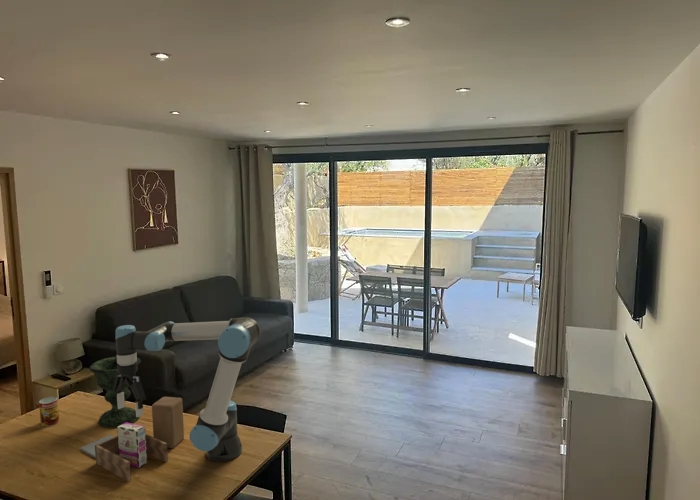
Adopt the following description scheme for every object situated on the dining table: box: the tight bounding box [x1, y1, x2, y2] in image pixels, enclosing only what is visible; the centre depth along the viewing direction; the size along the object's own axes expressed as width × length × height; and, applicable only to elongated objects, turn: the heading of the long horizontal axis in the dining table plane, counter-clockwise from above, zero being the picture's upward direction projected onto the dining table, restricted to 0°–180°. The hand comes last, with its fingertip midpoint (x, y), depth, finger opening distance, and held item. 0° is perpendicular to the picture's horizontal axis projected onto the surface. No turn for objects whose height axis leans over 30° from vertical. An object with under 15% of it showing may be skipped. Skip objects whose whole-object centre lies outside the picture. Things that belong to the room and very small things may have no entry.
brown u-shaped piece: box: [95, 433, 169, 482], centre depth 206 cm, size 24×18×8 cm
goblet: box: [89, 355, 142, 428], centre depth 244 cm, size 22×22×30 cm
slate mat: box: [79, 434, 115, 459], centre depth 218 cm, size 14×14×1 cm
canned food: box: [38, 396, 60, 428], centre depth 242 cm, size 8×8×12 cm
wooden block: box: [151, 396, 185, 449], centre depth 221 cm, size 10×10×20 cm
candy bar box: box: [116, 422, 148, 469], centre depth 205 cm, size 11×5×16 cm, turn 68°
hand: (130, 411), depth 203 cm, fingers open, 13 cm apart
